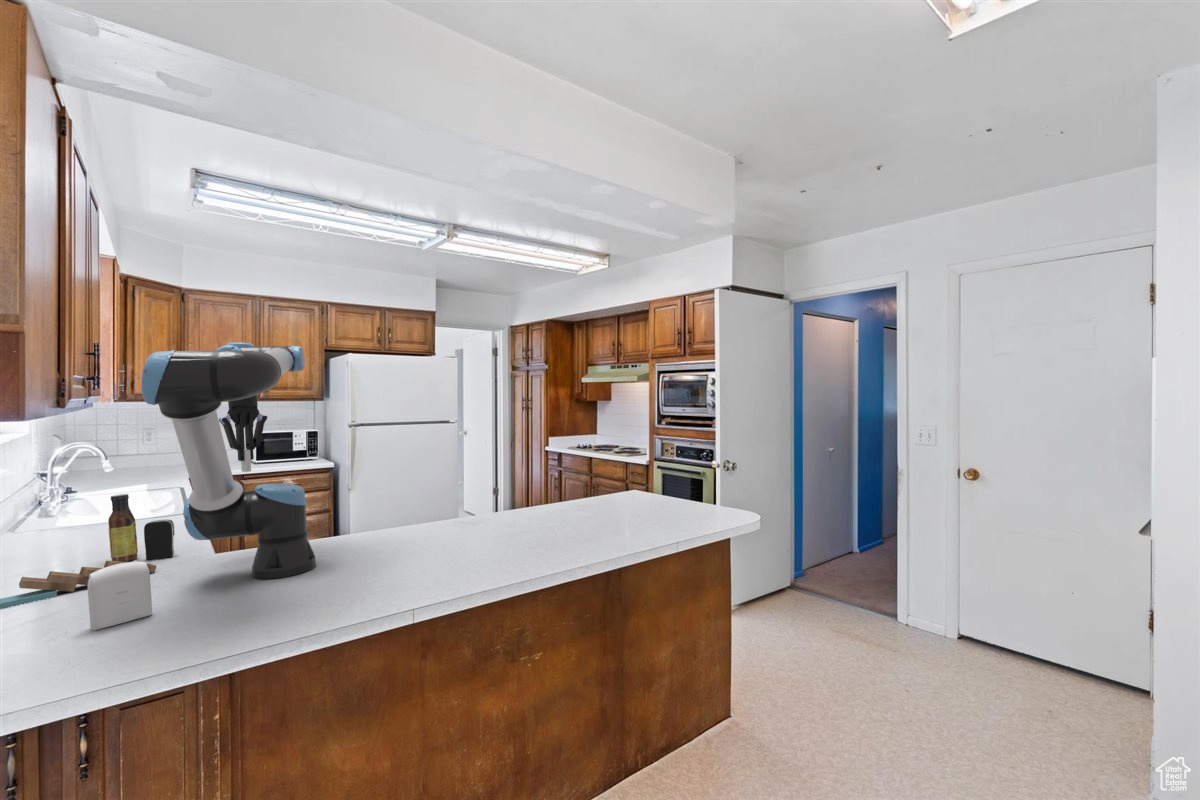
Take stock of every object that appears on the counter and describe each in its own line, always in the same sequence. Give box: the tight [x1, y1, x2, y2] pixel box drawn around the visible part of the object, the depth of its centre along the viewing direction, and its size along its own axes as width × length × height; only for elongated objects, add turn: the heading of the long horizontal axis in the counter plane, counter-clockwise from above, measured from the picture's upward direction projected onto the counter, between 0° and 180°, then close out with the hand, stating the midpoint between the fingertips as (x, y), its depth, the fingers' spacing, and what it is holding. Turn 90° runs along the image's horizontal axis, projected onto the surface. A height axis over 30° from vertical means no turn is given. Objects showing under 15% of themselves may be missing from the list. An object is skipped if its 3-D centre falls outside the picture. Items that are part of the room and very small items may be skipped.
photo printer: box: [87, 561, 153, 631], centre depth 120 cm, size 10×4×12 cm, turn 140°
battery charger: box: [143, 519, 176, 561], centre depth 170 cm, size 7×4×11 cm, turn 113°
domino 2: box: [18, 576, 78, 592], centre depth 140 cm, size 5×2×10 cm
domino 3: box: [46, 570, 89, 586], centre depth 143 cm, size 5×2×10 cm
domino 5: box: [102, 560, 157, 573], centre depth 153 cm, size 5×2×10 cm
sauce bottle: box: [107, 493, 139, 562], centre depth 169 cm, size 7×6×20 cm
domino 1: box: [0, 589, 58, 610], centre depth 136 cm, size 5×2×10 cm
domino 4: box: [78, 566, 103, 577], centre depth 148 cm, size 5×2×10 cm
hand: (246, 471), depth 171 cm, fingers closed
